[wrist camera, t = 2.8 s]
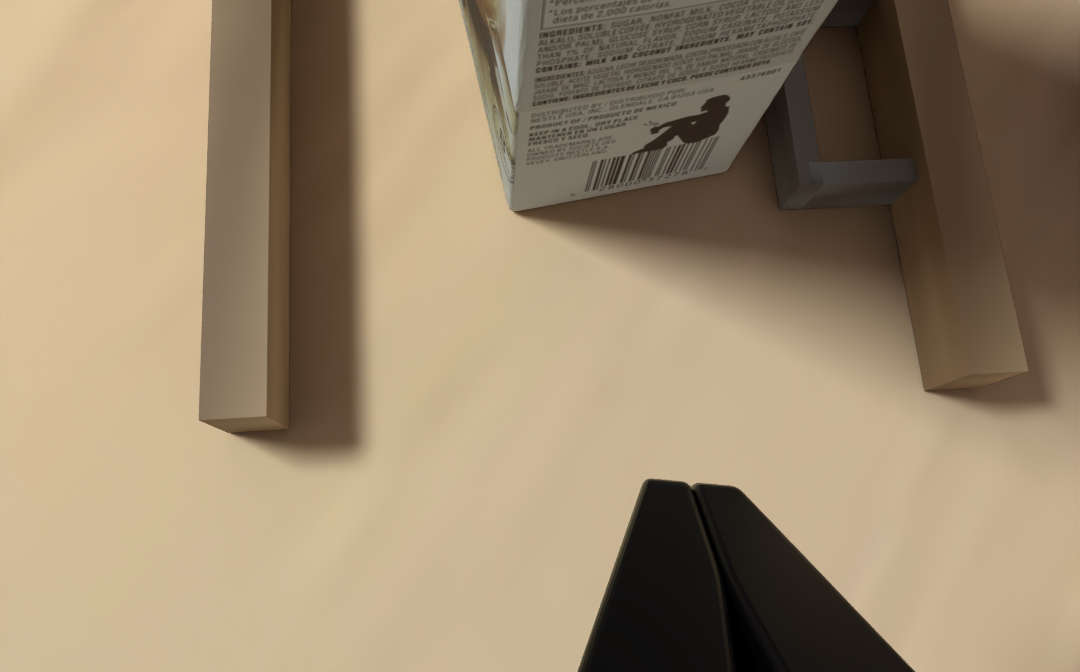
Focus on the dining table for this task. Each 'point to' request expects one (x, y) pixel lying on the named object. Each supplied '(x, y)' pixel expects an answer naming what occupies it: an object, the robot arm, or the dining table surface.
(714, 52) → the coffee box
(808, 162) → the rectangular frame
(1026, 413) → the dining table surface
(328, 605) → the dining table surface
